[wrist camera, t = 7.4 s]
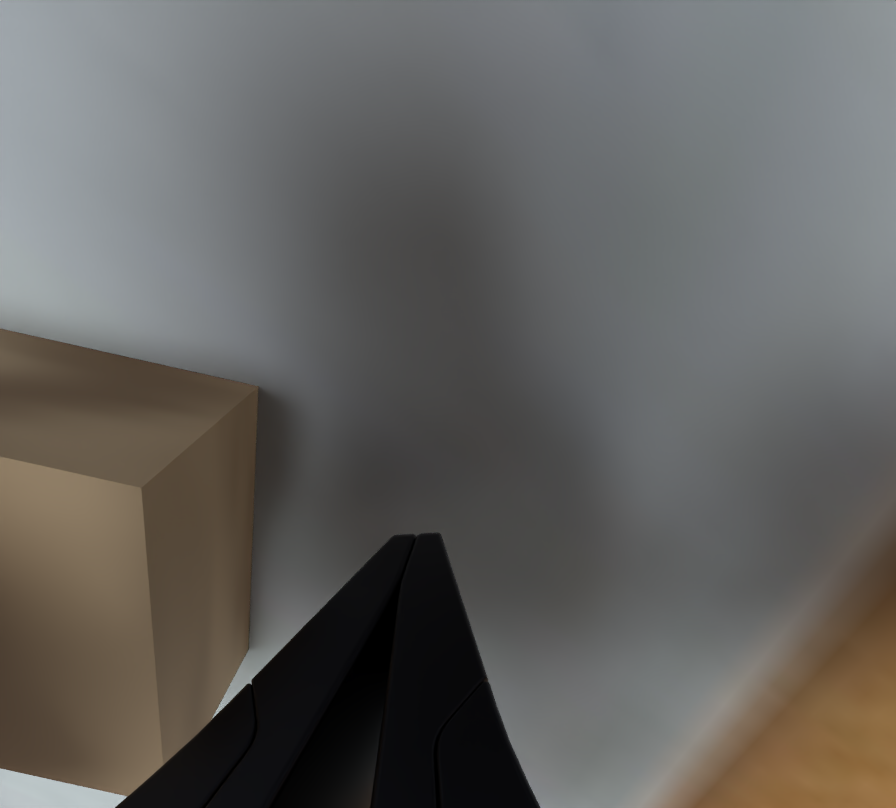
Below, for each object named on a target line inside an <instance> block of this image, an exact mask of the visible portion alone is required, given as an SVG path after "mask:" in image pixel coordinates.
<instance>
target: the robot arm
mask: <svg viewBox="0 0 896 808" xmlns="http://www.w3.org/2000/svg"><path fill="white" fill-rule="evenodd" d="M115 808H540V806H539V804H538V802H537V800H536V797H535V795H534V793H533V791H532V789H531V787H530V785H529V783H528V781H527V779H526V776H525V774H524V772H523V770H522V768H521V765H520V763H519V761H518V759H517V756H516V754H515V752H514V750H513V747H512V745H511V743H510V740H509V738H508V735H507V732H506V730H505V727H504V724H503V721H502V719H501V716H500V713H499V711H498V708H497V705H496V702H495V699H494V696H493V693H492V689H491V686H490V684H489V682H488V678H487V675H486V672H485V669H484V666H483V663H482V659H481V656H480V653H479V650H478V647H477V644H476V641H475V638H474V635H473V632H472V629H471V626H470V622H469V619H468V616H467V613H466V610H465V607H464V604H463V601H462V598H461V595H460V592H459V589H458V585H457V582H456V579H455V576H454V573H453V570H452V567H451V564H450V561H449V558H448V555H447V552H446V548H445V545H444V542H443V539H442V536H441V534H440V533H421V534H419V535H418V536H416V535H415V534H402V535H394V536H393V537H391V538H390V539H389V540H388V541H387V542H386V543H385V544H384V545H383V546H382V547H381V548H380V550H379V551H378V552H377V553H376V554H375V555H374V556H373V557H372V558H371V559H370V560H369V561H368V562H367V563H366V564H365V565H364V566H363V567H362V568H361V569H360V570H359V571H358V572H357V573H356V574H355V575H354V576H353V577H352V578H351V579H350V580H349V581H348V582H347V583H346V584H345V585H344V586H343V587H342V588H341V589H340V590H339V591H338V592H337V593H336V594H335V595H334V596H333V597H332V598H331V599H330V600H329V601H328V603H327V604H326V605H325V606H324V607H323V608H322V609H321V610H320V611H319V612H318V613H317V614H316V615H315V616H314V617H313V618H312V619H311V620H310V621H309V622H308V623H307V624H306V625H305V626H304V627H303V628H302V629H301V630H300V631H299V632H298V633H297V634H296V635H295V636H294V637H293V638H292V639H291V640H290V641H289V642H288V643H287V644H286V645H285V646H284V647H283V648H282V649H281V650H280V651H279V652H278V653H277V654H276V656H275V657H274V658H273V659H272V660H271V661H270V662H269V663H268V664H267V665H266V666H265V667H264V668H263V669H262V670H261V671H260V672H259V673H258V674H257V675H256V676H255V677H254V678H253V679H252V685H251V684H247V685H246V686H245V687H244V688H243V689H242V690H241V691H240V692H239V693H238V694H237V695H236V696H235V697H234V698H233V699H232V700H231V701H230V702H229V703H228V704H227V705H226V706H225V707H224V708H223V709H222V710H221V711H220V712H219V713H218V714H217V715H216V716H215V717H214V718H213V719H212V720H211V721H210V722H209V723H208V724H207V725H206V726H205V727H204V728H203V729H202V730H201V731H200V732H199V733H198V734H197V735H195V736H194V737H193V738H192V739H191V740H190V741H189V742H188V743H187V744H186V745H185V746H183V747H182V748H181V749H180V750H179V751H178V752H177V753H176V754H175V755H174V756H173V757H171V758H170V759H169V760H168V761H167V762H166V763H165V764H164V765H163V766H162V767H160V768H159V769H158V770H157V771H156V772H155V773H154V774H153V775H152V776H150V777H149V778H148V779H147V780H146V781H145V782H144V783H142V784H141V785H140V786H139V787H138V788H137V789H136V790H135V791H133V792H132V793H131V794H130V795H129V796H128V797H127V798H126V799H124V800H123V801H122V802H121V803H120V804H119V805H118V806H116V807H115Z"/></svg>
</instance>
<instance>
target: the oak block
mask: <svg viewBox="0 0 896 808" xmlns="http://www.w3.org/2000/svg"><path fill="white" fill-rule="evenodd" d="M257 412H258V386H254V385H250V384H245V383H241V382H237V381H232V380H228V379H223V378H219V377H214V376H210V375H205V374H201V373H196V372H192V371H187V370H183V369H178V368H174V367H169V366H165V365H161V364H156V363H152V362H147V361H143V360H138V359H134V358H129V357H125V356H120V355H116V354H111V353H107V352H102V351H98V350H93V349H89V348H84V347H80V346H76V345H71V344H67V343H62V342H58V341H53V340H49V339H44V338H40V337H35V336H31V335H26V334H22V333H17V332H13V331H8V330H4V329H0V768H2V769H6V770H11V771H15V772H20V773H24V774H29V775H33V776H38V777H43V778H47V779H52V780H56V781H61V782H65V783H70V784H74V785H79V786H83V787H88V788H93V789H97V790H102V791H106V792H111V793H115V794H120V795H124V796H129V795H130V794H131V793H132V792H133V791H135V790H136V789H137V788H138V787H139V786H140V785H141V784H142V783H144V782H145V781H146V780H147V779H148V778H149V777H150V776H152V775H153V774H154V773H155V772H156V771H157V770H158V769H159V768H160V767H162V766H163V765H164V764H165V763H166V762H167V761H168V760H169V759H170V758H171V757H173V756H174V755H175V754H176V753H177V752H178V751H179V750H180V749H181V748H182V747H183V746H185V745H186V744H187V743H188V742H189V741H190V740H191V739H192V738H193V737H194V736H195V735H197V734H198V733H199V732H200V731H201V730H202V729H203V728H204V727H205V726H206V725H207V724H208V723H209V722H210V721H211V719H212V717H213V716H214V714H215V712H216V710H217V708H218V706H219V704H220V702H221V700H222V699H223V697H224V695H225V693H226V691H227V689H228V687H229V685H230V683H231V682H232V680H233V678H234V676H235V674H236V672H237V670H238V668H239V666H240V665H241V663H242V661H243V659H244V657H245V655H246V653H247V651H248V648H249V622H250V596H251V569H252V543H253V517H254V491H255V464H256V438H257Z"/></svg>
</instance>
